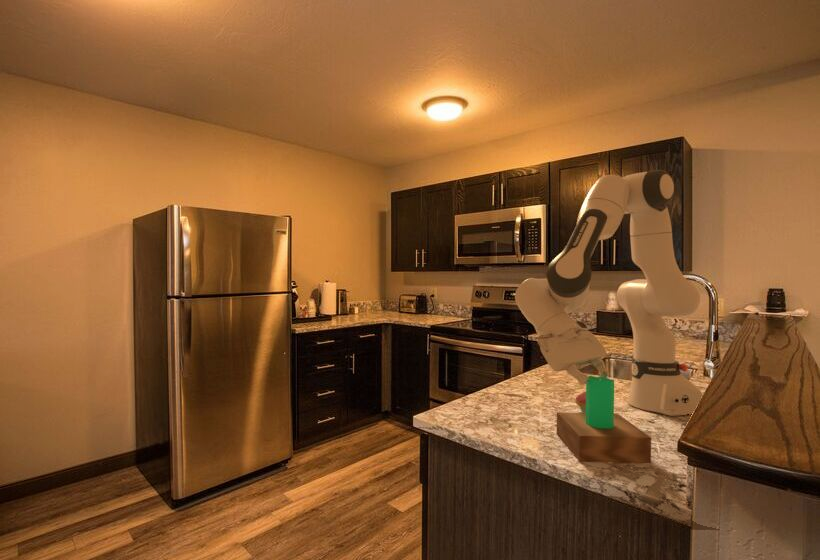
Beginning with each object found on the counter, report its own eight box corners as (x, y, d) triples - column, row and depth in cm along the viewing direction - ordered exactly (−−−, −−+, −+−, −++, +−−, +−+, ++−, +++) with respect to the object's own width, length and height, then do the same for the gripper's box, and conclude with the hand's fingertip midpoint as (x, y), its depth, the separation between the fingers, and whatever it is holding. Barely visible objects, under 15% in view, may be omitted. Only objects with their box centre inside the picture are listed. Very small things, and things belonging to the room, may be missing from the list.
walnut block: (617, 437, 102) (617, 413, 102) (650, 465, 87) (651, 437, 87) (556, 436, 103) (556, 412, 103) (579, 463, 88) (579, 435, 88)
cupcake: (615, 422, 112) (616, 378, 112) (589, 425, 110) (590, 380, 109) (593, 411, 120) (594, 371, 120) (568, 414, 118) (569, 372, 118)
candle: (617, 429, 91) (617, 375, 91) (588, 427, 92) (588, 374, 92) (610, 420, 97) (610, 370, 97) (583, 418, 98) (583, 368, 98)
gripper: (542, 327, 95) (581, 378, 87) (589, 322, 108) (626, 366, 100) (526, 344, 99) (562, 394, 91) (573, 337, 111) (608, 380, 103)
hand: (596, 379), depth 96 cm, fingers open, 8 cm apart
